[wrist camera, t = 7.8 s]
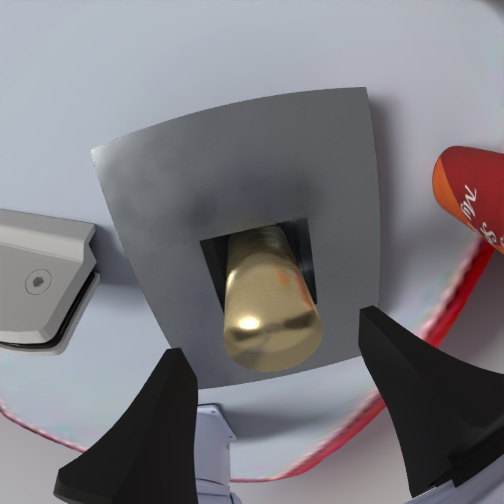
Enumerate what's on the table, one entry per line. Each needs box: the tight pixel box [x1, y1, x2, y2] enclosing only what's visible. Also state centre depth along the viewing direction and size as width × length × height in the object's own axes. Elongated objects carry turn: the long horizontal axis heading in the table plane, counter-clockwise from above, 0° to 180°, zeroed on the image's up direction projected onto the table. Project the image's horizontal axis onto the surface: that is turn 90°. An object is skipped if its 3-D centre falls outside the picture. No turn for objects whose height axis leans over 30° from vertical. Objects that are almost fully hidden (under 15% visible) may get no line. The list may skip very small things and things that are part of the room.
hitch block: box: [90, 87, 381, 390], centre depth 17 cm, size 18×14×4 cm
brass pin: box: [224, 224, 323, 372], centre depth 15 cm, size 4×4×9 cm
